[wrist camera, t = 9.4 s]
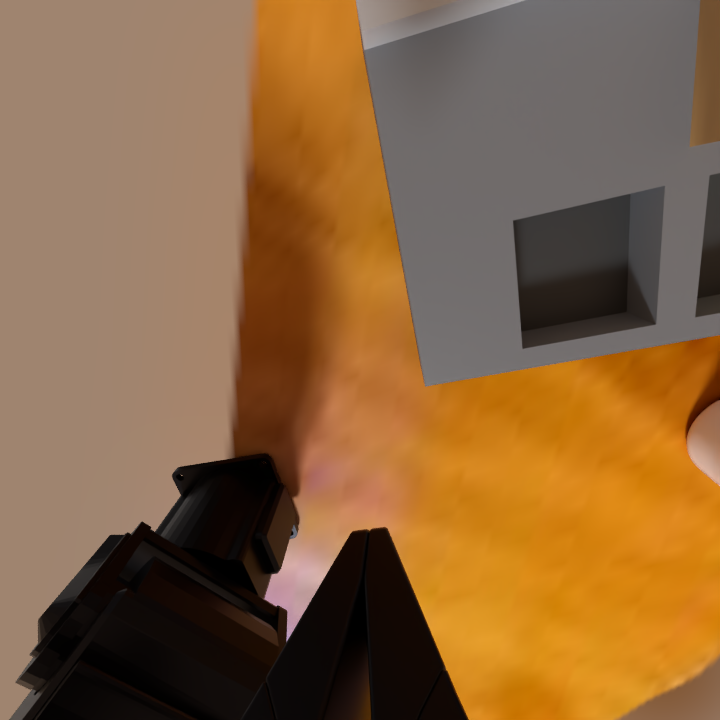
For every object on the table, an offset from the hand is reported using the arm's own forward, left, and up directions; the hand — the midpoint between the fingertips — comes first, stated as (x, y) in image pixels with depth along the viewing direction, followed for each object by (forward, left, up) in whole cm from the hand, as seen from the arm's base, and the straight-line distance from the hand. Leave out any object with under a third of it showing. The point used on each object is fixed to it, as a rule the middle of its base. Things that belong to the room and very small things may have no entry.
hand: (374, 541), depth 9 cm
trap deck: (+11, +6, -12) cm, 17 cm away
